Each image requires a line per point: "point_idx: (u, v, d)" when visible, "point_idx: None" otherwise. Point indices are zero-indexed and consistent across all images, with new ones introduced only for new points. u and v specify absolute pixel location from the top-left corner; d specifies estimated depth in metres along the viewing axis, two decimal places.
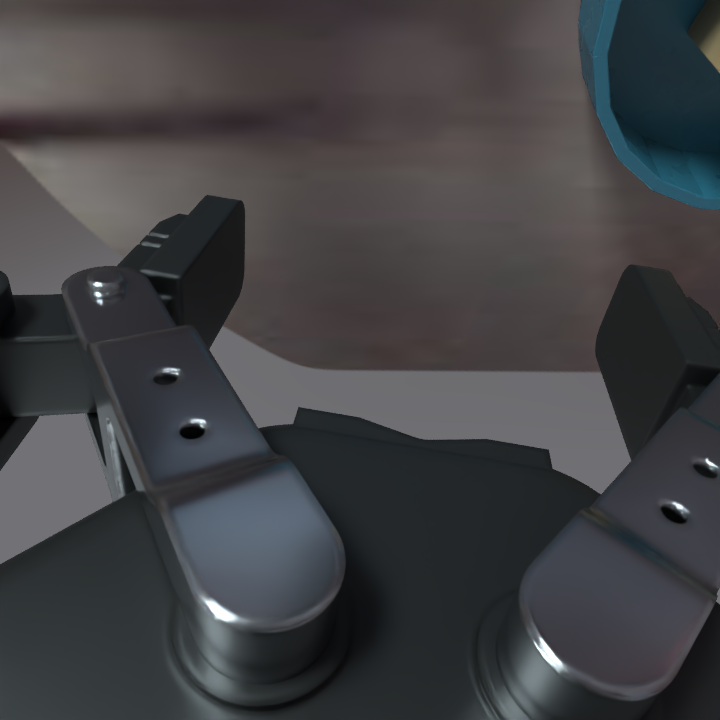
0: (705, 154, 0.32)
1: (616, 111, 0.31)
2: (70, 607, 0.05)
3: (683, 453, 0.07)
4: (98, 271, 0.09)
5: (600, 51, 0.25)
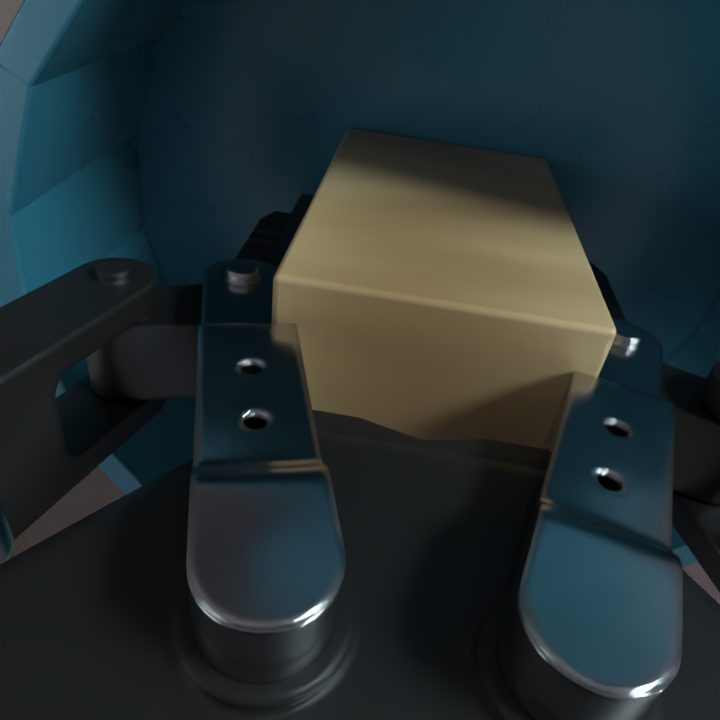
0: None
1: (159, 49, 0.13)
2: (81, 621, 0.05)
3: (594, 418, 0.07)
4: (238, 262, 0.10)
5: None
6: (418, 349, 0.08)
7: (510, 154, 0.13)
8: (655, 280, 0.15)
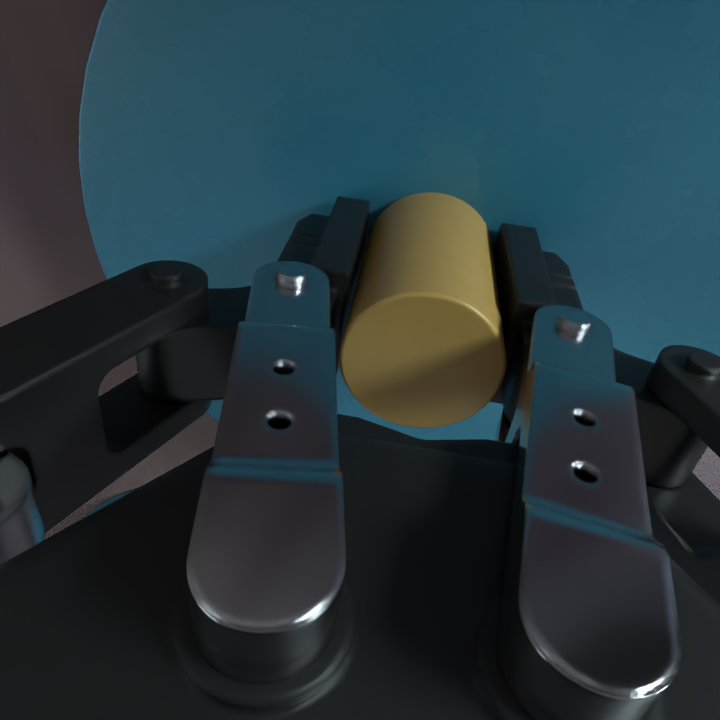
0: None
1: None
2: (84, 627, 0.05)
3: (562, 409, 0.07)
4: (288, 264, 0.10)
5: None
6: None
7: None
8: None
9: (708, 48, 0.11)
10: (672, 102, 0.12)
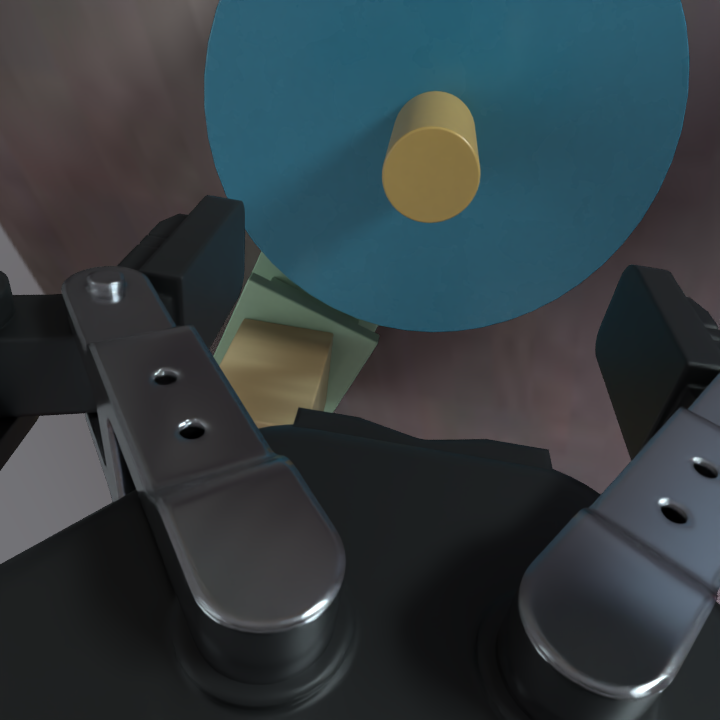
0: None
1: None
2: (71, 607, 0.05)
3: (683, 453, 0.07)
4: (98, 271, 0.09)
5: None
6: None
7: (316, 331, 0.29)
8: None
9: None
10: (584, 28, 0.19)
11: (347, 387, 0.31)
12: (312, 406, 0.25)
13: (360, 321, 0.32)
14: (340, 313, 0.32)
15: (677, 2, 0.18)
